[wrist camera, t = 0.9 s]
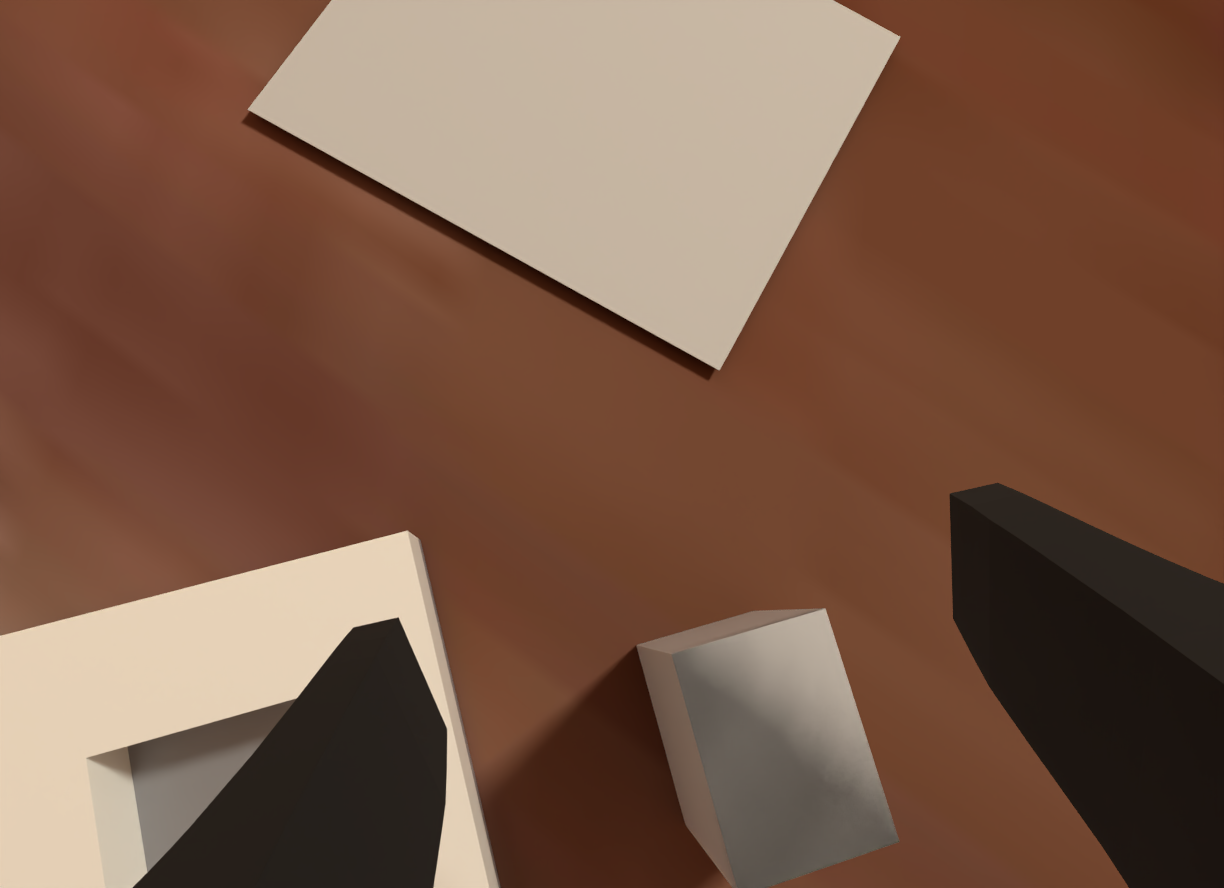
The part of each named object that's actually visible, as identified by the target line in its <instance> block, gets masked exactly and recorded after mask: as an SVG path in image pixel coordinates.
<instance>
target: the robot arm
mask: <svg viewBox="0 0 1224 888" xmlns="http://www.w3.org/2000/svg"><path fill="white" fill-rule="evenodd" d="M950 521H951V557H952V593H953V619H954V621H955V623H956V625H957V627H958V629H959V631H960V633H961V634H962V636H963V638H964V640H965V642H966V644H967V646H968V648H969V650H970V652H971V654H972V656H973V658H974V659H975V661H976V663H977V665H978V667H979V669H980V670H981V672H982V674H983V676H984V678H985V680H986V681H987V683H988V685H989V687H990V688H991V690H992V691H993V693H994V694H995V696H996V697H997V698H998V700H999V701H1000V703H1001V704H1002V706H1003V707H1004V709H1005V710H1006V711H1007V713H1008V714H1009V716H1010V717H1011V719H1012V720H1013V721H1014V723H1015V724H1016V726H1017V727H1018V729H1019V730H1020V731H1021V733H1022V734H1023V736H1024V737H1025V739H1026V740H1027V741H1028V743H1029V744H1030V746H1031V747H1032V748H1033V750H1034V751H1035V753H1036V754H1037V755H1038V757H1039V758H1040V760H1041V761H1042V762H1043V764H1044V765H1045V767H1046V768H1047V769H1048V771H1049V772H1050V774H1051V775H1052V776H1053V778H1054V779H1055V781H1056V782H1057V783H1058V785H1059V786H1060V788H1061V789H1062V790H1063V792H1064V793H1065V795H1066V796H1067V798H1068V799H1069V800H1070V802H1071V803H1072V805H1073V806H1074V807H1075V809H1076V810H1077V812H1078V813H1079V814H1080V816H1081V817H1082V819H1083V820H1084V821H1085V823H1086V824H1087V826H1088V827H1089V828H1090V830H1091V831H1092V833H1093V834H1094V835H1095V837H1096V838H1097V840H1098V841H1099V842H1100V844H1101V845H1102V847H1103V848H1104V850H1105V851H1106V853H1107V854H1108V856H1109V857H1110V859H1111V860H1112V862H1113V864H1114V865H1115V867H1116V868H1117V870H1118V871H1119V873H1120V874H1121V876H1122V877H1123V879H1124V880H1125V882H1126V883H1127V885H1128V887H1129V888H1224V584H1223V583H1220V582H1218V581H1215V580H1213V579H1210V578H1208V577H1206V576H1203V575H1201V574H1198V573H1196V572H1194V571H1191V570H1189V569H1187V568H1184V567H1182V566H1180V565H1177V564H1175V563H1173V562H1170V561H1168V560H1166V559H1163V558H1161V557H1159V556H1157V555H1154V554H1152V553H1150V552H1148V551H1145V550H1143V549H1141V548H1139V547H1137V546H1134V545H1132V544H1130V543H1128V542H1126V541H1123V540H1121V539H1119V538H1117V537H1115V536H1113V535H1110V534H1108V533H1106V532H1104V531H1102V530H1100V529H1097V528H1095V527H1093V526H1091V525H1089V524H1087V523H1085V522H1083V521H1081V520H1078V519H1076V518H1074V517H1072V516H1070V515H1068V514H1066V513H1064V512H1061V511H1059V510H1057V509H1055V508H1053V507H1051V506H1049V505H1047V504H1044V503H1042V502H1040V501H1038V500H1036V499H1034V498H1032V497H1029V496H1027V495H1025V494H1023V493H1020V492H1018V491H1016V490H1014V489H1011V488H1009V487H1006V486H1004V485H1002V484H999V483H995V484H991V485H986V486H982V487H977V488H973V489H968V490H964V491H960V492H955V493H951V494H950ZM446 779H447V727H446V725H445V723H444V720H443V718H442V716H441V714H440V711H439V709H438V707H437V704H436V702H435V700H434V698H433V695H432V693H431V691H430V688H429V686H428V684H427V681H426V679H425V677H424V675H423V672H422V670H421V668H420V665H419V663H418V661H417V659H416V656H415V654H414V652H413V649H412V647H411V645H410V642H409V640H408V638H407V636H406V633H405V631H404V629H403V626H402V624H401V622H400V620H399V617H398V618H393V619H389V620H384V621H380V622H375V623H371V624H366V625H362V626H357V627H353V628H352V629H351V631H350V632H349V633H348V634H347V635H346V636H345V638H344V639H343V640H342V641H341V642H340V644H339V645H338V646H337V647H336V649H335V650H334V651H333V652H332V654H331V655H330V656H329V658H328V659H327V660H326V661H325V663H324V664H323V665H322V667H321V668H320V669H319V670H318V672H317V673H316V674H315V676H314V677H313V678H312V679H311V681H310V682H309V683H308V685H307V686H306V687H305V688H304V690H303V691H302V692H301V694H300V695H299V696H298V697H297V699H296V700H295V701H294V703H293V704H292V705H291V706H290V708H289V709H288V710H287V711H286V713H285V714H284V715H283V716H282V718H281V719H280V720H279V721H278V723H277V724H276V725H275V727H274V728H273V729H272V730H271V732H270V733H269V734H268V735H267V737H266V738H265V739H264V740H263V742H262V743H261V744H260V745H259V747H258V748H257V749H256V750H255V752H254V753H253V754H252V755H251V757H250V758H249V759H248V760H247V761H246V762H245V764H244V765H243V766H242V767H241V768H240V769H239V771H238V772H237V773H236V774H235V775H234V776H233V778H232V779H231V780H230V781H229V782H228V783H227V785H226V786H225V787H224V788H223V789H222V790H221V791H220V793H219V794H218V795H217V796H216V797H215V798H214V800H213V801H212V802H211V803H210V804H209V805H208V807H207V808H206V809H205V810H204V811H203V812H202V814H201V815H200V816H199V817H198V818H197V819H196V821H195V822H194V823H193V824H192V825H191V826H190V828H189V829H188V830H187V831H186V832H185V833H184V834H183V835H182V836H181V837H180V838H179V840H178V841H177V842H176V843H175V844H174V845H173V846H172V847H171V848H170V849H169V850H168V851H167V852H166V854H165V855H164V856H163V857H162V858H161V859H160V860H159V861H158V862H157V863H156V864H155V865H154V866H153V867H152V868H151V869H150V870H149V871H148V872H147V873H146V874H145V875H144V876H143V877H142V878H141V879H140V880H139V881H138V882H137V883H136V884H135V885H134V887H133V888H433V887H434V880H435V874H436V867H437V861H438V854H439V847H440V840H441V833H442V827H443V819H444V812H445V805H446Z"/></svg>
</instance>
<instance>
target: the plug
mask: <svg viewBox="0 0 1224 888" xmlns="http://www.w3.org/2000/svg"><path fill="white" fill-rule="evenodd" d="M636 646H637V650H638V654H639V657H640V661H641V665H642V668H643V672H644V676H645V679H646V683H647V687H648V690H649V694H650V698H651V701H652V705H653V709H654V712H655V716H656V719H657V723H658V727H659V730H660V734H661V738H662V741H663V745H664V749H665V752H666V756H667V760H668V763H669V767H670V771H671V774H672V778H673V782H674V785H675V789H676V793H677V796H678V800H679V804H680V807H681V811H682V814H683V818H684V822H685V825H686V826H687V828H688V829H689V830H690V832H691V833H692V834H693V836H694V837H695V838H696V840H697V841H698V842H699V844H700V845H701V846H702V848H703V849H704V850H705V852H706V853H707V854H708V856H709V857H710V858H711V860H712V861H713V862H714V864H715V865H716V866H717V868H718V869H719V870H720V872H721V873H722V874H723V876H724V877H725V878H726V880H727V881H728V882H729V884H730V885H731V886H732V888H767V887H770V886H773V885H776V884H779V883H782V882H785V881H787V880H790V879H793V878H796V877H799V876H802V875H805V874H808V873H811V872H813V871H816V870H819V869H822V868H825V867H828V866H831V865H834V864H837V863H839V862H842V861H845V860H848V859H851V858H854V857H857V856H860V855H863V854H865V853H868V852H871V851H874V850H877V849H880V848H883V847H886V846H889V845H892V844H894V843H897V842H899V839H898V836H897V833H896V830H895V826H894V823H893V820H892V817H891V814H890V811H889V808H888V804H887V801H886V798H885V795H884V792H883V789H882V785H881V782H880V779H879V776H878V773H877V770H876V767H875V763H874V760H873V757H872V754H871V751H870V748H869V745H868V741H867V738H866V735H865V732H864V729H863V726H862V722H861V719H860V716H859V713H858V710H857V707H856V704H855V700H854V697H853V694H852V691H851V688H850V685H849V682H848V678H847V675H846V672H845V669H844V666H843V663H842V660H841V656H840V653H839V650H838V647H837V644H836V641H835V637H834V634H833V631H832V628H831V625H830V622H829V619H828V615H827V612H826V609H797V610H769V611H752V612H748V613H745V614H742V615H738V616H735V617H731V618H728V619H724V620H721V621H718V622H714V623H711V624H707V625H704V626H700V627H697V628H694V629H690V630H687V631H683V632H680V633H676V634H673V635H670V636H666V637H663V638H659V639H656V640H652V641H649V642H645V643H642V644H639V645H636Z"/></svg>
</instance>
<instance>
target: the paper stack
mask: <svg viewBox="0 0 1224 888" xmlns="http://www.w3.org/2000/svg"><path fill="white" fill-rule="evenodd" d="M899 39H900V36H898V35H896V34H894V33H892V32H890V31H889V30H887V29H885V28H883V27H881V26H879V25H877V24H876V23H874V22H872V21H870V20H868V19H866V18H865V17H863V16H861V15H859V14H857V13H855V12H853V11H852V10H850V9H848V8H846V7H844V6H842V5H841V4H839V3H837V2H835V1H833V0H332V1H331V2H330V3H329V4H328V6H327V7H326V8H325V10H324V11H323V12H322V14H321V15H320V16H319V17H318V19H317V20H316V21H315V23H314V24H313V25H312V27H311V28H310V29H309V30H308V32H307V33H306V34H305V36H304V37H303V38H302V40H301V41H300V42H299V43H298V45H297V46H296V47H295V49H294V50H293V51H292V53H291V54H290V55H289V56H288V58H287V59H286V60H285V62H284V63H283V64H282V66H281V67H280V68H279V69H278V71H277V72H276V73H275V75H274V76H273V77H272V79H271V80H270V81H269V82H268V84H267V85H266V86H265V88H264V89H263V90H262V92H261V93H260V94H259V95H258V97H257V98H256V99H255V101H254V102H253V103H252V105H251V106H250V107H249V108H248V110H249V111H251V112H252V113H254V114H256V115H258V116H260V117H262V118H263V119H265V120H267V121H269V122H271V123H272V124H274V125H276V126H278V127H280V128H281V129H283V130H285V131H287V132H289V133H290V134H292V135H294V136H296V137H298V138H299V139H301V140H303V141H305V142H307V143H309V144H310V145H312V146H314V147H316V148H318V149H319V150H321V151H323V152H325V153H327V154H328V155H330V156H332V157H334V158H336V159H337V160H339V161H341V162H343V163H345V164H346V165H348V166H350V167H352V168H354V169H356V170H357V171H359V172H361V173H363V174H365V175H366V176H368V177H370V178H372V179H374V180H375V181H377V182H379V183H381V184H383V185H384V186H386V187H388V188H390V189H392V190H393V191H395V192H397V193H399V194H401V195H403V196H404V197H406V198H408V199H410V200H412V201H413V202H415V203H417V204H419V205H421V206H422V207H424V208H426V209H428V210H430V211H431V212H433V213H435V214H437V215H439V216H440V217H442V218H444V219H446V220H448V221H450V222H451V223H453V224H455V225H457V226H459V227H460V228H462V229H464V230H466V231H468V232H469V233H471V234H473V235H475V236H477V237H478V238H480V239H482V240H484V241H486V242H487V243H489V244H491V245H493V246H495V247H497V248H498V249H500V250H502V251H504V252H506V253H507V254H509V255H511V256H513V257H515V258H516V259H518V260H520V261H522V262H524V263H525V264H527V265H529V266H531V267H533V268H534V269H536V270H538V271H540V272H542V273H544V274H545V275H547V276H549V277H551V278H553V279H554V280H556V281H558V282H560V283H562V284H563V285H565V286H567V287H569V288H571V289H572V290H574V291H576V292H578V293H580V294H581V295H583V296H585V297H587V298H589V299H591V300H592V301H594V302H596V303H598V304H600V305H601V306H603V307H605V308H607V309H609V310H610V311H612V312H614V313H616V314H618V315H619V316H621V317H623V318H625V319H627V320H628V321H630V322H632V323H634V324H636V325H638V326H639V327H641V328H643V329H645V330H647V331H648V332H650V333H652V334H654V335H656V336H657V337H659V338H661V339H663V340H665V341H666V342H668V343H670V344H672V345H674V346H675V347H677V348H679V349H681V350H683V351H685V352H686V353H688V354H690V355H692V356H694V357H695V358H697V359H699V360H701V361H703V362H704V363H706V364H708V365H710V366H712V367H713V368H715V369H717V370H720V369H721V367H722V365H723V363H724V361H725V359H726V358H727V356H728V354H729V352H730V350H731V348H732V346H733V345H734V343H735V341H736V339H737V337H738V335H739V334H740V332H741V330H742V328H743V326H744V324H745V323H746V321H747V319H748V317H749V315H750V313H751V311H752V310H753V308H754V306H755V304H756V302H757V300H758V299H759V297H760V295H761V293H762V291H763V289H764V288H765V286H766V284H767V282H768V280H769V278H770V276H771V275H772V273H773V271H774V269H775V267H776V265H777V264H778V262H779V260H780V258H781V256H782V254H783V252H784V251H785V249H786V247H787V245H788V243H789V241H790V240H791V238H792V236H793V234H794V232H795V230H796V229H797V227H798V225H799V223H800V221H801V219H802V217H803V216H804V214H805V212H806V210H807V208H808V206H809V205H810V203H811V201H812V199H813V197H814V195H815V193H816V192H817V190H818V188H819V186H820V184H821V182H822V181H823V179H824V177H825V175H826V173H827V171H828V170H829V168H830V166H831V164H832V162H833V160H834V158H835V157H836V155H837V153H838V151H839V149H840V147H841V146H842V144H843V142H844V140H845V138H846V136H847V134H848V133H849V131H850V129H851V127H852V125H853V123H854V122H855V120H856V118H857V116H858V114H859V112H860V111H861V109H862V107H863V105H864V103H865V101H866V99H867V98H868V96H869V94H870V92H871V90H872V88H873V87H874V85H875V83H876V81H877V79H878V77H879V75H880V74H881V72H882V70H883V68H884V66H885V64H886V63H887V61H888V59H889V57H890V55H891V53H892V52H893V50H894V48H895V46H896V44H897V42H898V40H899Z"/></svg>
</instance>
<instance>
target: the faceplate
mask: <svg viewBox="0 0 1224 888" xmlns="http://www.w3.org/2000/svg"><path fill="white" fill-rule="evenodd" d="M398 617H399V620H400V622H401V624H402V626H403V629H404V631H405V633H406V636H407V638H408V640H409V642H410V645H411V647H412V649H413V652H414V654H415V656H416V659H417V661H418V663H419V665H420V668H421V670H422V672H423V675H424V677H425V679H426V681H427V684H428V686H429V688H430V691H431V693H432V695H433V698H434V700H435V702H436V704H437V707H438V709H439V711H440V714H441V716H442V718H443V720H444V723H445V725H446V727H447V779H446V805H445V812H444V819H443V827H442V833H441V840H440V847H439V854H438V861H437V867H436V874H435V880H434V887H433V888H501V886H500V881H499V877H498V873H497V869H496V864H495V860H494V856H493V851H492V847H491V843H490V838H489V834H488V830H487V825H486V821H485V817H484V812H483V808H482V804H481V799H480V795H479V791H478V787H477V782H476V778H475V774H474V769H473V765H472V761H471V756H470V752H469V748H468V743H467V739H466V735H465V730H464V726H463V722H462V717H461V713H460V709H459V705H458V700H457V696H456V692H455V687H454V683H453V679H452V674H451V670H450V666H449V661H448V657H447V653H446V648H445V644H444V640H443V635H442V631H441V627H440V623H439V618H438V614H437V610H436V605H435V601H434V597H433V592H432V588H431V584H430V579H429V575H428V571H427V566H426V562H425V558H424V553H423V549H422V545H421V541H420V539H418V538H417V537H415V536H414V535H413V534H411V533H410V532H408V531H405V532H401V533H397V534H393V535H389V536H385V537H381V538H378V539H374V540H370V541H366V542H362V543H358V544H354V545H351V546H347V547H343V548H339V549H335V550H331V551H327V552H323V553H320V554H316V555H312V556H308V557H304V558H300V559H296V560H292V561H289V562H285V563H281V564H277V565H273V566H269V567H265V568H262V569H258V570H254V571H250V572H246V573H242V574H238V575H234V576H231V577H227V578H223V579H219V580H215V581H211V582H207V583H204V584H200V585H196V586H192V587H188V588H184V589H180V590H176V591H173V592H169V593H165V594H161V595H157V596H153V597H149V598H146V599H142V600H138V601H134V602H130V603H126V604H122V605H118V606H115V607H111V608H107V609H103V610H99V611H95V612H91V613H87V614H84V615H80V616H76V617H72V618H68V619H64V620H60V621H57V622H53V623H49V624H45V625H41V626H37V627H33V628H29V629H26V630H22V631H18V632H14V633H10V634H6V635H2V636H0V888H133V887H134V885H135V884H136V883H137V882H138V881H139V880H140V879H141V878H142V877H143V876H144V875H145V874H146V873H147V872H148V871H149V870H150V869H151V868H152V867H153V866H154V865H155V864H156V863H157V862H158V861H159V860H160V859H161V858H162V857H163V856H164V855H165V854H166V852H167V851H168V850H169V849H170V848H171V847H172V846H173V845H174V844H175V843H176V842H177V841H178V840H179V838H180V837H181V836H182V835H183V834H184V833H185V832H186V831H187V830H188V829H189V828H190V826H191V825H192V824H193V823H194V822H195V821H196V819H197V818H198V817H199V816H200V815H201V814H202V812H203V811H204V810H205V809H206V808H207V807H208V805H209V804H210V803H211V802H212V801H213V800H214V798H215V797H216V796H217V795H218V794H219V793H220V791H221V790H222V789H223V788H224V787H225V786H226V785H227V783H228V782H229V781H230V780H231V779H232V778H233V776H234V775H235V774H236V773H237V772H238V771H239V769H240V768H241V767H242V766H243V765H244V764H245V762H246V761H247V760H248V759H249V758H250V757H251V755H252V754H253V753H254V752H255V750H256V749H257V748H258V747H259V745H260V744H261V743H262V742H263V740H264V739H265V738H266V737H267V735H268V734H269V733H270V732H271V730H272V729H273V728H274V727H275V725H276V724H277V723H278V721H279V720H280V719H281V718H282V716H283V715H284V714H285V713H286V711H287V710H288V709H289V708H290V706H291V705H292V704H293V703H294V701H295V700H296V699H297V697H298V696H299V695H300V694H301V692H302V691H303V690H304V688H305V687H306V686H307V685H308V683H309V682H310V681H311V679H312V678H313V677H314V676H315V674H316V673H317V672H318V670H319V669H320V668H321V667H322V665H323V664H324V663H325V661H326V660H327V659H328V658H329V656H330V655H331V654H332V652H333V651H334V650H335V649H336V647H337V646H338V645H339V644H340V642H341V641H342V640H343V639H344V638H345V636H346V635H347V634H348V633H349V632H350V631H351V629H352V628H353V627H357V626H362V625H366V624H371V623H375V622H380V621H384V620H389V619H393V618H398Z"/></svg>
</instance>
